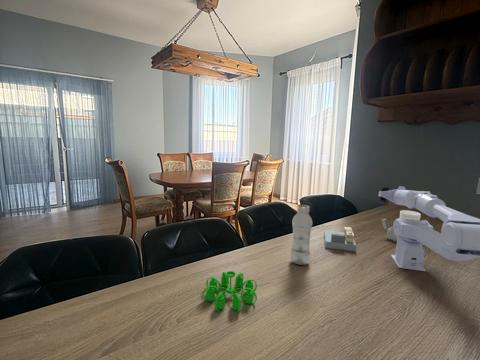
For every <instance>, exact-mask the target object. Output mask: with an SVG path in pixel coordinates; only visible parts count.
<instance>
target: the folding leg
mask: <svg viewBox="0 0 480 360" xmlns="http://www.w3.org/2000/svg"><path fill="white" fill-rule="evenodd" d="M343 229H344V230H343V232H344V235H345V236H346V238H345V239H346V242H352V243H353V242H354V241H355V235H354V232H353V229H352V227H350V226H348V227H347V226H344V228H343Z"/></svg>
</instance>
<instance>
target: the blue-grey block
mask: <svg viewBox="0 0 480 360" xmlns="http://www.w3.org/2000/svg"><path fill="white" fill-rule="evenodd" d="M345 238H346V236H345V235H344V231H343V232H342V231H335V230H326V229H325V230H324V231H323V239H324V248H327V249H333V250H341V251H342V250H343V251H349V252H356V249H357V245H356V242H355V240H354V242H353V243H352V242H346V239H345Z"/></svg>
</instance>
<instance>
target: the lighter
mask: <svg viewBox="0 0 480 360" xmlns="http://www.w3.org/2000/svg"><path fill="white" fill-rule="evenodd" d="M381 223H382V227H383V228H384V230H386V235H385V236H386V237H385V238H386V239H387V238H388V240H390V239H391V240H390V241H392V240H393V241H392V242H395V241H396V242H397V239H398V237H397V236H396V235H395V234H394V231H393V226H391V227H390V226H389V223H388V220H387V218H384V219H381Z"/></svg>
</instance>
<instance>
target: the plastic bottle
mask: <svg viewBox="0 0 480 360" xmlns="http://www.w3.org/2000/svg"><path fill="white" fill-rule="evenodd" d="M296 212H297V213H296V214H295V215H294V216H293V218H292V220H291V222H292V223H291V224H292V244H291V249H290V253H289V255H290V260H291V261H292V263H293V264H296V265H299V266H306V265H307V264H309V262H310V261H311V251H310V250H311V249H310V239H311V231H312V228H313V219H312V217H311V216H310V214H309V213H310V205H307V204H299V205H297V210H296Z"/></svg>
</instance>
